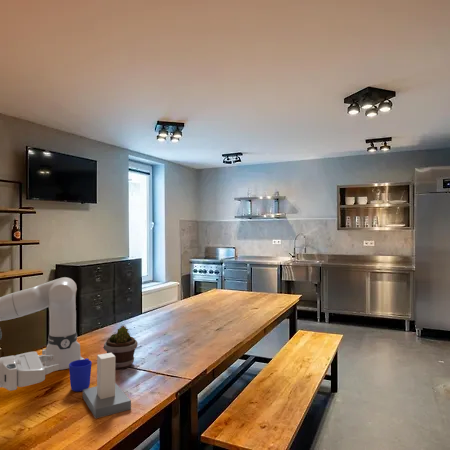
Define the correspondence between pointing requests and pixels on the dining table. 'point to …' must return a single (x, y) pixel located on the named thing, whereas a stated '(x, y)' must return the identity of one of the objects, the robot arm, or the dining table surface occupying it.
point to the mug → (80, 374)
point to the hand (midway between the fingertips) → (56, 361)
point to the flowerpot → (121, 348)
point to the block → (105, 375)
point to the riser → (106, 402)
